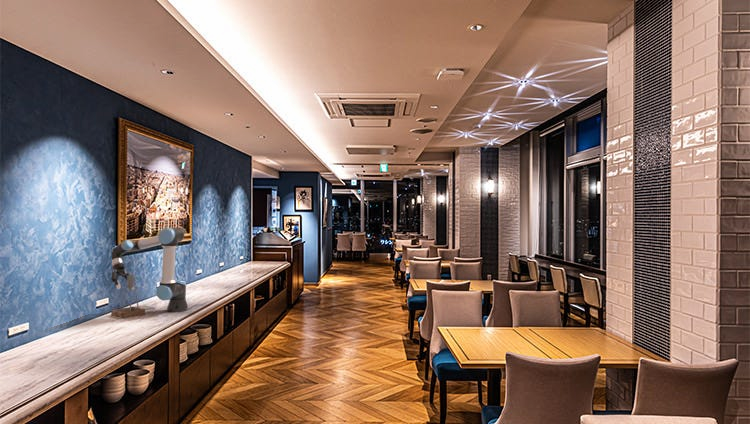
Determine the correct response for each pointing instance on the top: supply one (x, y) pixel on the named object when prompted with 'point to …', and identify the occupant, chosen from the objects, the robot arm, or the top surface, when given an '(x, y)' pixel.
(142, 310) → the holder frame
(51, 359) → the top surface
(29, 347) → the top surface
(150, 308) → the slate tile
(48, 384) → the top surface
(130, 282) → the citrus juicer
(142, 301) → the top surface
